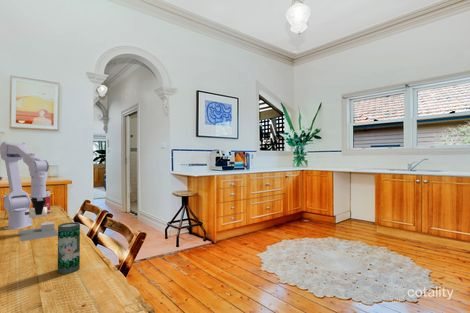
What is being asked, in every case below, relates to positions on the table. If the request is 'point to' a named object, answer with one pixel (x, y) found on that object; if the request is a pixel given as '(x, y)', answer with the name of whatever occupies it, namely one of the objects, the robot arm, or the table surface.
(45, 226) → the block
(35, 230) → the mat
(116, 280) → the table surface
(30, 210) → the plug
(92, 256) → the table surface
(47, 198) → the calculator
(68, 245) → the can
